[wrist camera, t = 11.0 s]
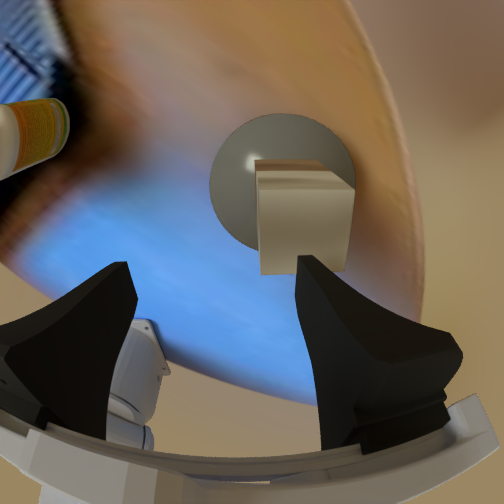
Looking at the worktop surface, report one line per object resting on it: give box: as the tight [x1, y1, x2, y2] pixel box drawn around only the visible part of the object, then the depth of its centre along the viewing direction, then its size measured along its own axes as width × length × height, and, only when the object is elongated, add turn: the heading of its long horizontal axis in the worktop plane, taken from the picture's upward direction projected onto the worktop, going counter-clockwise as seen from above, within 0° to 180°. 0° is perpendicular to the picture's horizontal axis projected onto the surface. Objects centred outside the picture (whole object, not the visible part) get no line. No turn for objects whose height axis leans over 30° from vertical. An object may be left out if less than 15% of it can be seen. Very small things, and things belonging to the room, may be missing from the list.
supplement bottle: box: [0, 98, 70, 180], centre depth 12 cm, size 5×5×10 cm
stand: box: [209, 114, 356, 251], centre depth 18 cm, size 10×10×2 cm
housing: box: [254, 159, 355, 275], centre depth 15 cm, size 4×4×7 cm
